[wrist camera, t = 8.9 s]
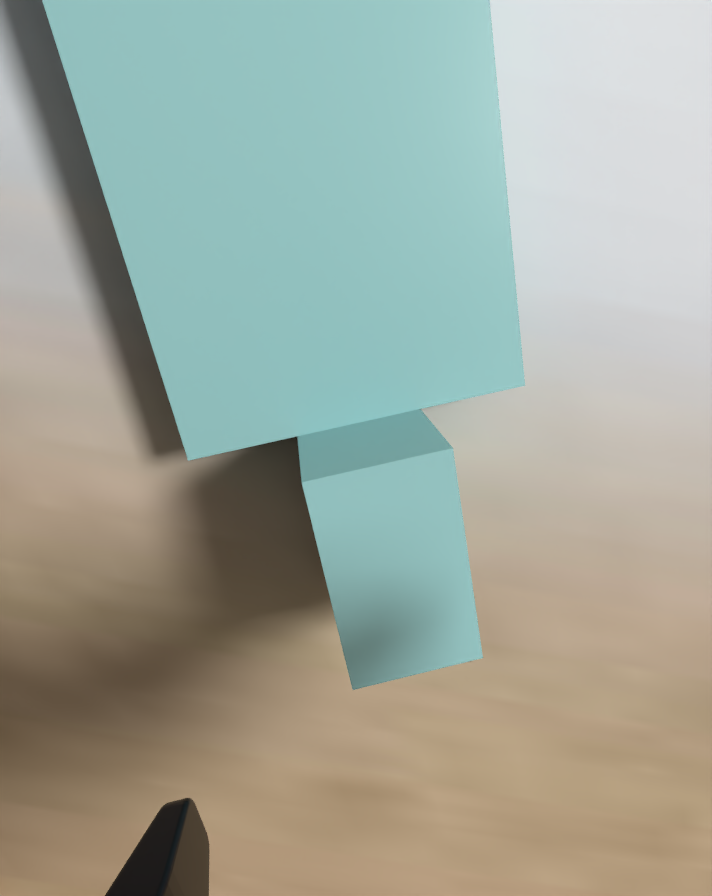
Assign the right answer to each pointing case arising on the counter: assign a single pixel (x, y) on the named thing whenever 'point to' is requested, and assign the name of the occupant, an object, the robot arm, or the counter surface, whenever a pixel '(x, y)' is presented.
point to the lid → (318, 265)
